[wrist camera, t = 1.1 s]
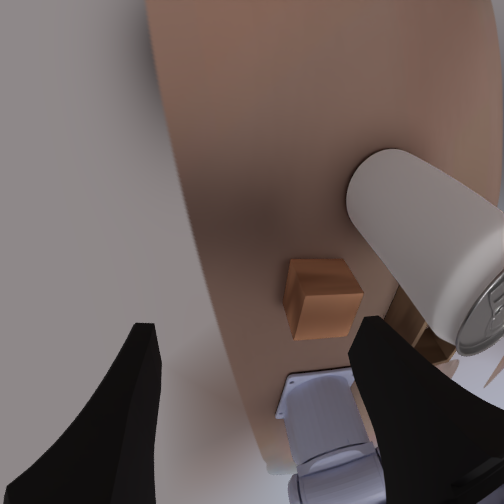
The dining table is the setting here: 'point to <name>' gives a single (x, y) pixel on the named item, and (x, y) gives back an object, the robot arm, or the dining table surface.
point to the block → (320, 298)
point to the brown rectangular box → (417, 330)
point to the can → (434, 245)
